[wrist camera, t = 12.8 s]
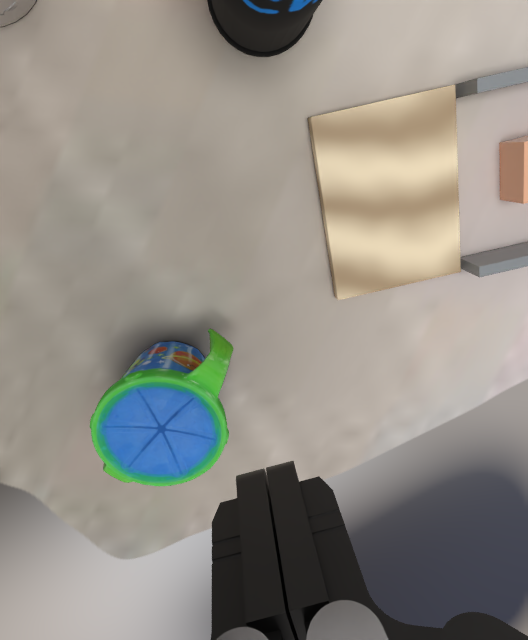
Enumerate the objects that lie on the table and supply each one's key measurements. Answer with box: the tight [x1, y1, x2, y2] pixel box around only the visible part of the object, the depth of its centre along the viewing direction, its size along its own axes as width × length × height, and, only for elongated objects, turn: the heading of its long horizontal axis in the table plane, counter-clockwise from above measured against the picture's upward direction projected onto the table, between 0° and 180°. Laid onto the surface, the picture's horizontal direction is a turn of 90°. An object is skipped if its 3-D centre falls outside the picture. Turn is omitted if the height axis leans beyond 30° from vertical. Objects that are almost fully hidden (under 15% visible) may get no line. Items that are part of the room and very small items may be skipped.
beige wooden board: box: [308, 85, 461, 300], centre depth 38 cm, size 16×12×1 cm
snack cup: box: [90, 329, 233, 486], centre depth 38 cm, size 16×10×10 cm
